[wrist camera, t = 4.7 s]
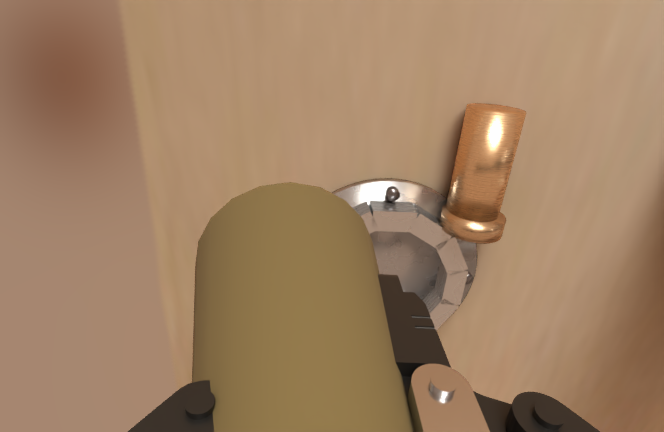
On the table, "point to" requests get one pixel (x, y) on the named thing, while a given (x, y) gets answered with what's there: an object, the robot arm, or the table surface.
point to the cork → (294, 318)
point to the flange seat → (415, 241)
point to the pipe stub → (482, 172)
